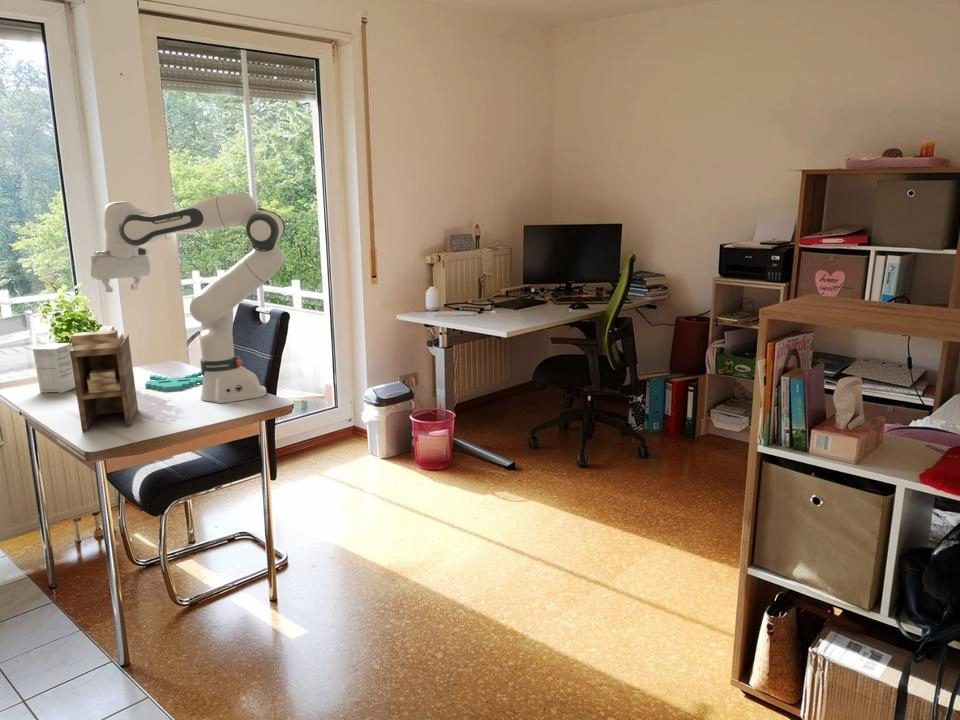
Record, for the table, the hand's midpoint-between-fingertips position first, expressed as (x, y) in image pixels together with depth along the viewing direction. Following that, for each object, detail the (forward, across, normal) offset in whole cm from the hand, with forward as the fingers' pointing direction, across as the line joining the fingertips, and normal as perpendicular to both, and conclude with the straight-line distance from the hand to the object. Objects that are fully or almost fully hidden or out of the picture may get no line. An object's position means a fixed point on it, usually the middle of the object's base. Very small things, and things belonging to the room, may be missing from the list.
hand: (122, 290), depth 254 cm
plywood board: (+13, -16, -11) cm, 23 cm away
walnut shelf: (+39, -17, -16) cm, 45 cm away
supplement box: (+42, -3, +36) cm, 55 cm away
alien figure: (+39, +22, +2) cm, 45 cm away
